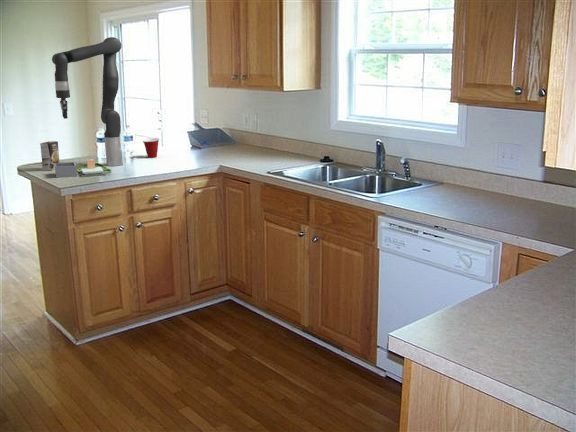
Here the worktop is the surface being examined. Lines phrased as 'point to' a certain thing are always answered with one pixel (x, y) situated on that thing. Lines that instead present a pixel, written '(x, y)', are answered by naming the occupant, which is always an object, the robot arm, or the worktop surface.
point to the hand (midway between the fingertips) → (65, 117)
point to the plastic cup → (151, 147)
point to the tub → (65, 169)
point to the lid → (91, 168)
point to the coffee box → (49, 155)
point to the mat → (92, 174)
